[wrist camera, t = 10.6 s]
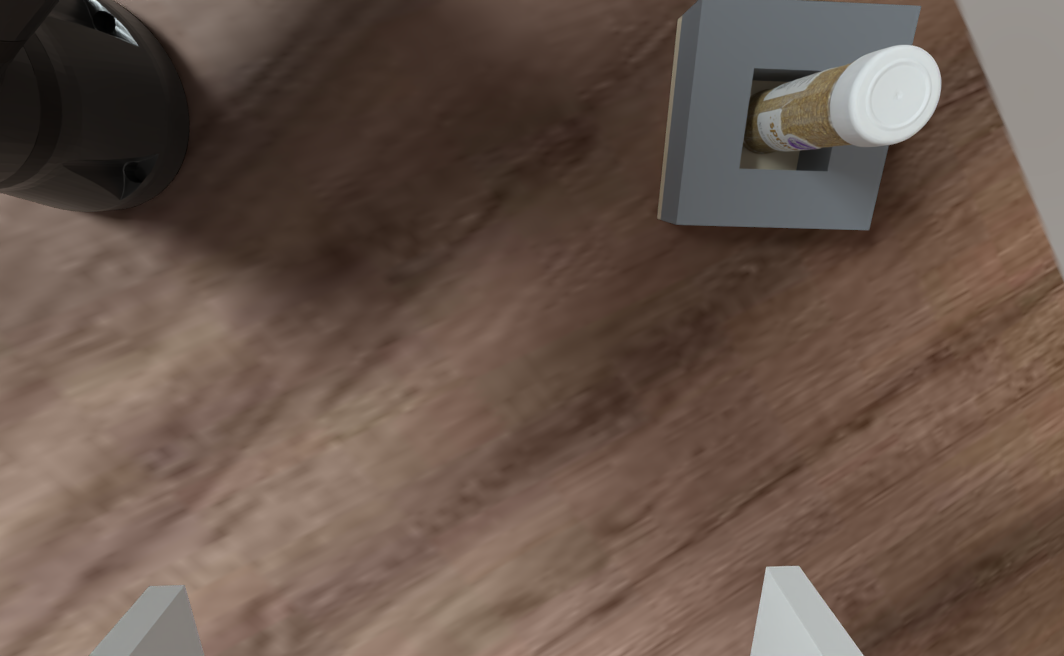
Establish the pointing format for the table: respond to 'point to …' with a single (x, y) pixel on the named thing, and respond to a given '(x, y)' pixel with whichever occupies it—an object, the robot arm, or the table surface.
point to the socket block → (722, 105)
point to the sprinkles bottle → (847, 104)
